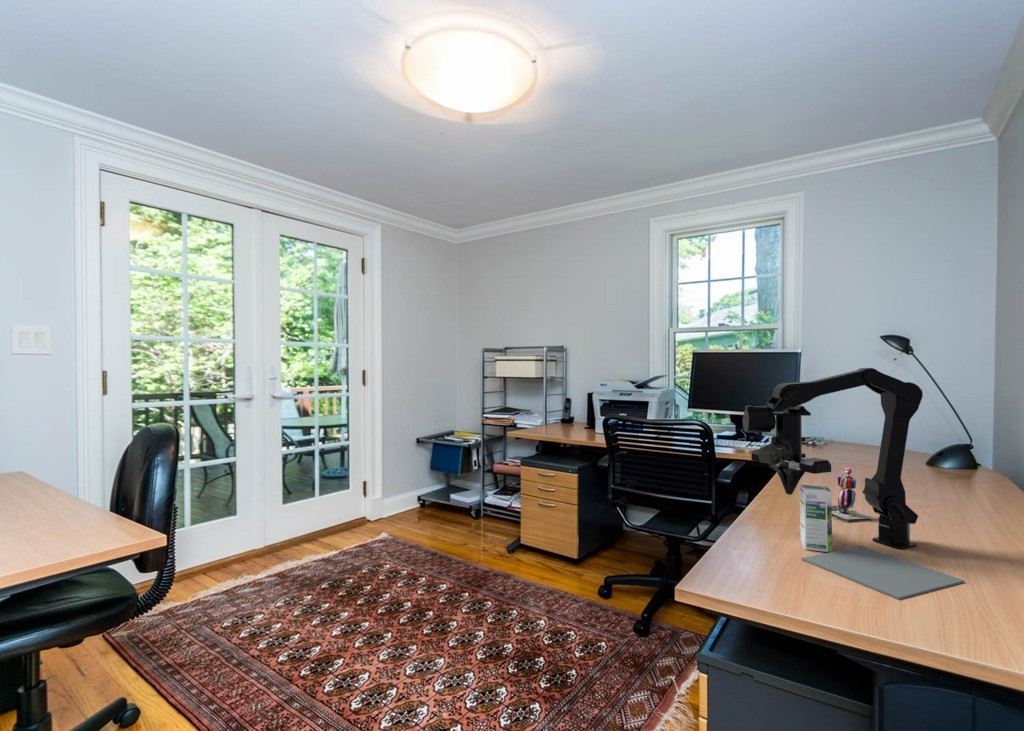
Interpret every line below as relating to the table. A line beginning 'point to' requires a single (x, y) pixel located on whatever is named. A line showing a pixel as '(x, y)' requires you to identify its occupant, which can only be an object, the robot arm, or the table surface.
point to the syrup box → (816, 518)
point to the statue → (847, 499)
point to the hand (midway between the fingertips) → (789, 494)
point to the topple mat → (882, 572)
